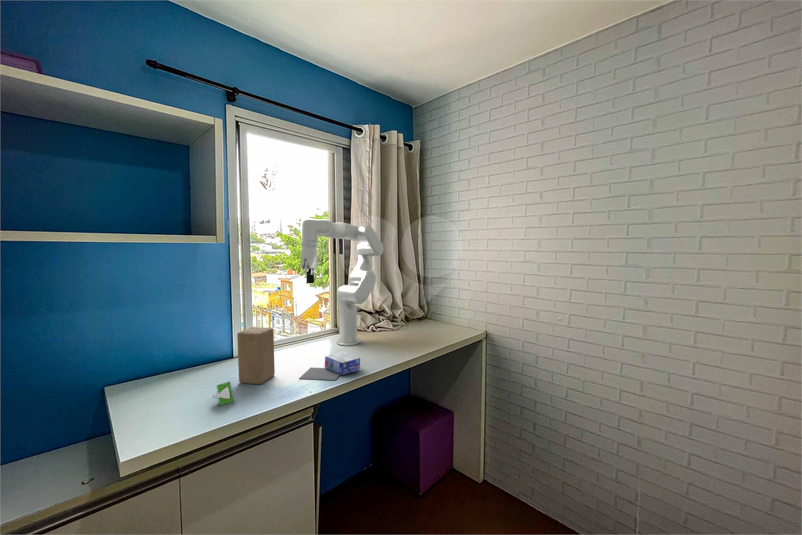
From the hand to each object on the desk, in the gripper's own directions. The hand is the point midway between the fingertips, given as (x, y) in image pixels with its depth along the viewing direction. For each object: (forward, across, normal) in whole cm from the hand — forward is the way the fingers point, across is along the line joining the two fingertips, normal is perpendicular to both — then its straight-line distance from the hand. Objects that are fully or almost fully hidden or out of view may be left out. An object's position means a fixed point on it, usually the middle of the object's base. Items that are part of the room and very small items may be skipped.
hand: (310, 283), depth 163 cm
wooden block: (+35, +32, -10) cm, 49 cm away
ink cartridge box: (+32, +15, +16) cm, 39 cm away
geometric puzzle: (+35, +52, -10) cm, 64 cm away
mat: (+35, +24, +14) cm, 45 cm away
